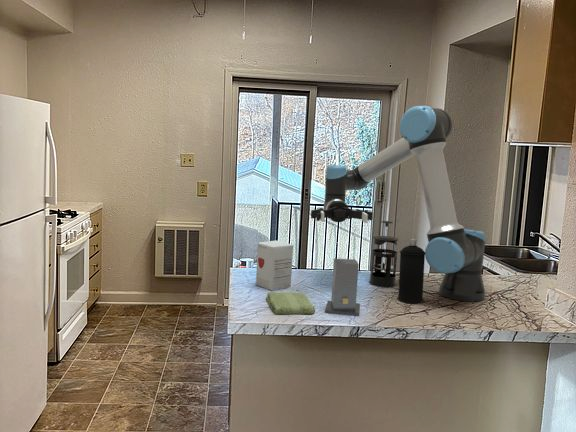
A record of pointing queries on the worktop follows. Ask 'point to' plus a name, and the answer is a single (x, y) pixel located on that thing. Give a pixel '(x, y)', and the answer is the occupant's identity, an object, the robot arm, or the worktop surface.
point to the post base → (344, 312)
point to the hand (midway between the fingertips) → (344, 218)
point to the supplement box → (274, 265)
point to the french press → (383, 277)
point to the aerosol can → (411, 273)
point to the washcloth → (289, 303)
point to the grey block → (344, 284)
